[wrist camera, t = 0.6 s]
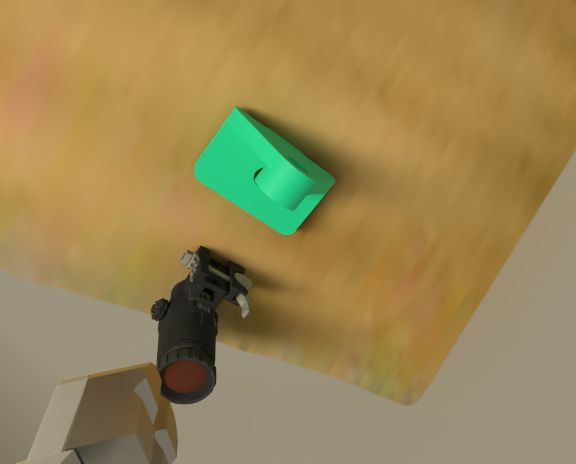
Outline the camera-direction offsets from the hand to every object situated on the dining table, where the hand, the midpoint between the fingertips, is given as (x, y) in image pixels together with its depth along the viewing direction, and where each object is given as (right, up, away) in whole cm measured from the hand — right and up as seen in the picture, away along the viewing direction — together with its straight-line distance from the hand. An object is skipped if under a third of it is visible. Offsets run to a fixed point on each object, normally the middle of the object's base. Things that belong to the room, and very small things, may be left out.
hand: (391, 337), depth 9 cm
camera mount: (-4, +8, +43) cm, 44 cm away
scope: (-12, -4, +48) cm, 49 cm away
